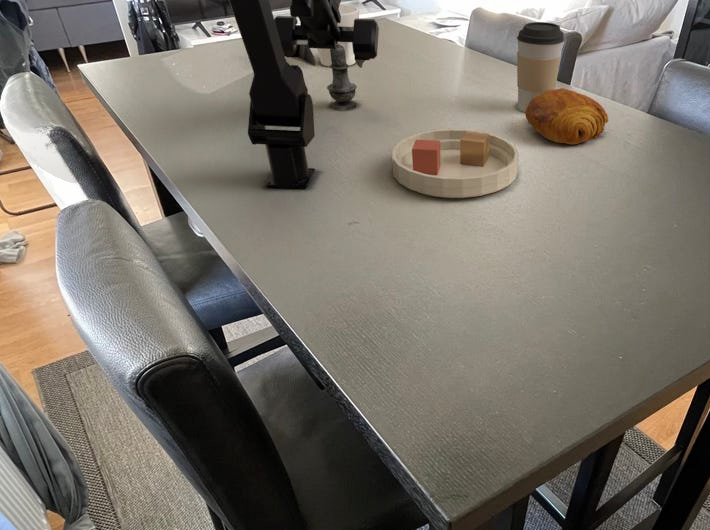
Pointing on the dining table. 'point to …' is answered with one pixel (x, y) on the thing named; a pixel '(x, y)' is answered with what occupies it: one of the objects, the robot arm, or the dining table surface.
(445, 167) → the round wooden tray
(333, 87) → the grey turned piece
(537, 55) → the coffee cup
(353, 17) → the cup
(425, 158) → the block
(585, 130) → the croissant
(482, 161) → the block
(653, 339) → the dining table surface
